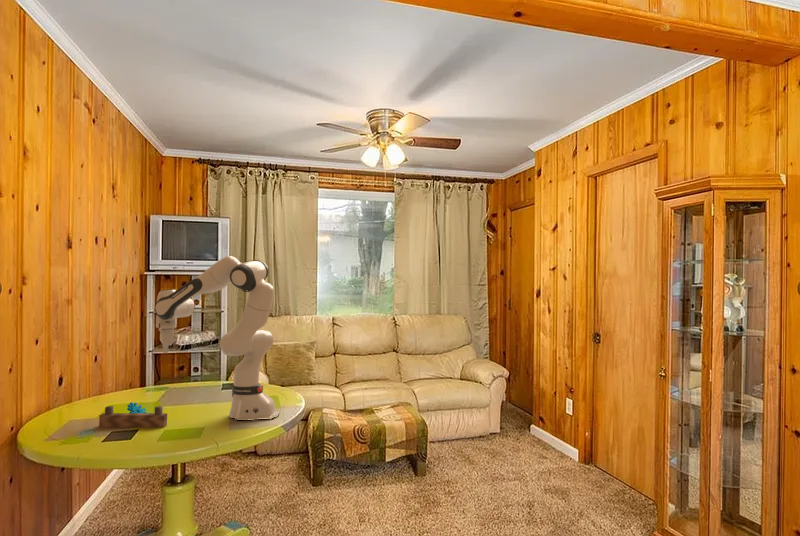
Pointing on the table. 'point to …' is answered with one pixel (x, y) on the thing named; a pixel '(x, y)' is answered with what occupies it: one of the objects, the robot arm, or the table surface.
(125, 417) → the stop bar
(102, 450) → the table surface
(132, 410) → the gear
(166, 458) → the table surface
